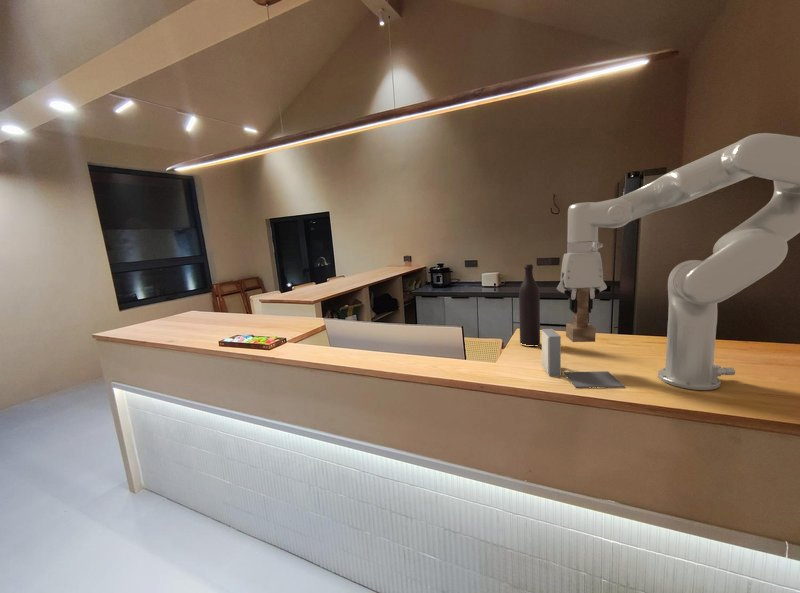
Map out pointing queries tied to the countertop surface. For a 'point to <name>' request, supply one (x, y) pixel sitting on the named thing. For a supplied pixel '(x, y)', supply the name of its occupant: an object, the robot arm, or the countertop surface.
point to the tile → (551, 352)
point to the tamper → (581, 320)
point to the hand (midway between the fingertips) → (580, 311)
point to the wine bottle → (529, 309)
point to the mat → (593, 379)
